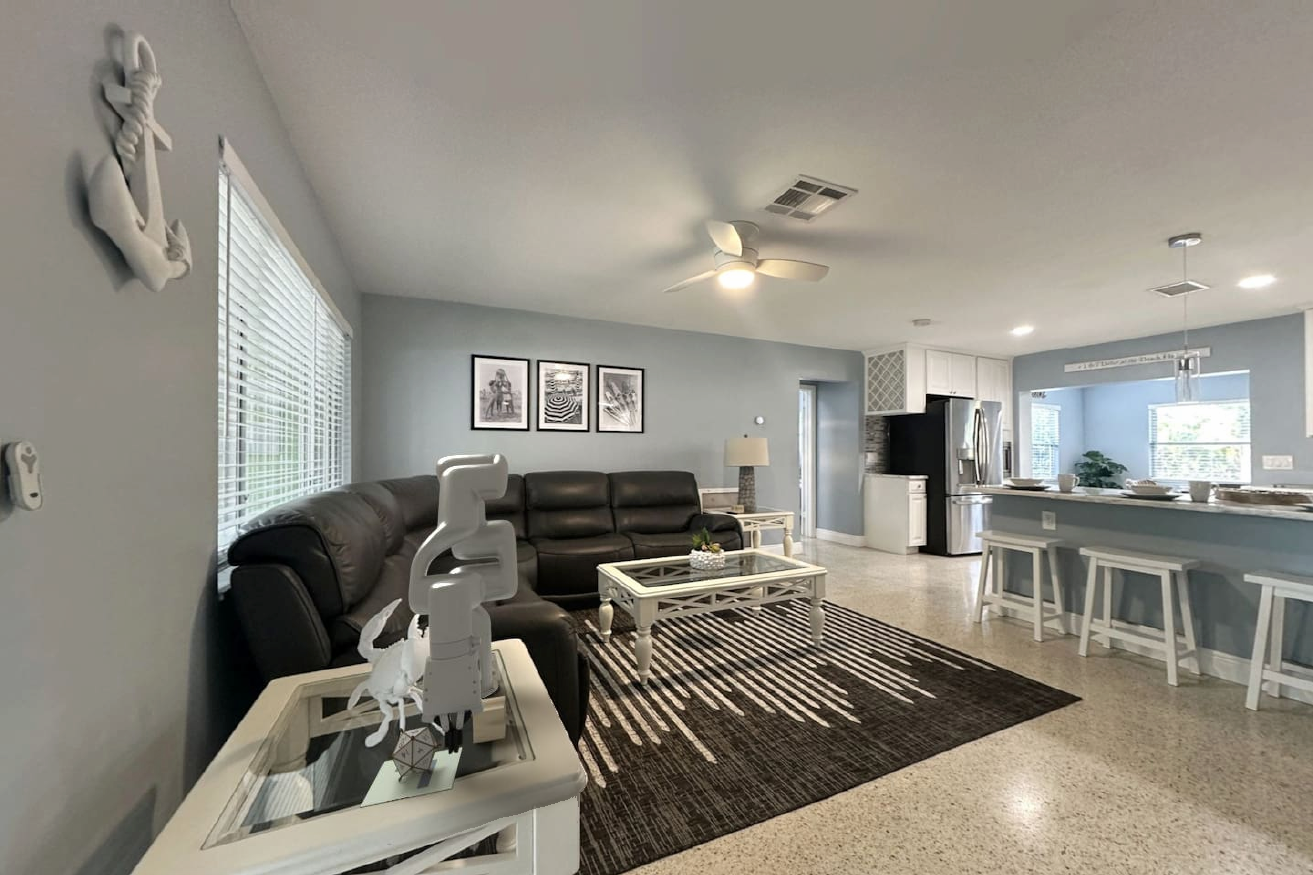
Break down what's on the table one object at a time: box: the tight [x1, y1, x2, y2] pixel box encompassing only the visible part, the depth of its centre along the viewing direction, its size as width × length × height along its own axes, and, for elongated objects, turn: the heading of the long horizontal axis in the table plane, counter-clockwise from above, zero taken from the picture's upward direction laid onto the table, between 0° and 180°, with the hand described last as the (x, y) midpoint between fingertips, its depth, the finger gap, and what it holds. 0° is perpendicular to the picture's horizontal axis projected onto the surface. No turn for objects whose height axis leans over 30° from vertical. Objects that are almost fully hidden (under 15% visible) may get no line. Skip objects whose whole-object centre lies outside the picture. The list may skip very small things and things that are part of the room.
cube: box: [472, 695, 507, 744], centre depth 104 cm, size 6×6×6 cm
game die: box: [386, 723, 443, 783], centre depth 90 cm, size 9×8×10 cm
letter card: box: [359, 747, 463, 808], centre depth 90 cm, size 14×14×1 cm
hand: (454, 749), depth 92 cm, fingers closed
